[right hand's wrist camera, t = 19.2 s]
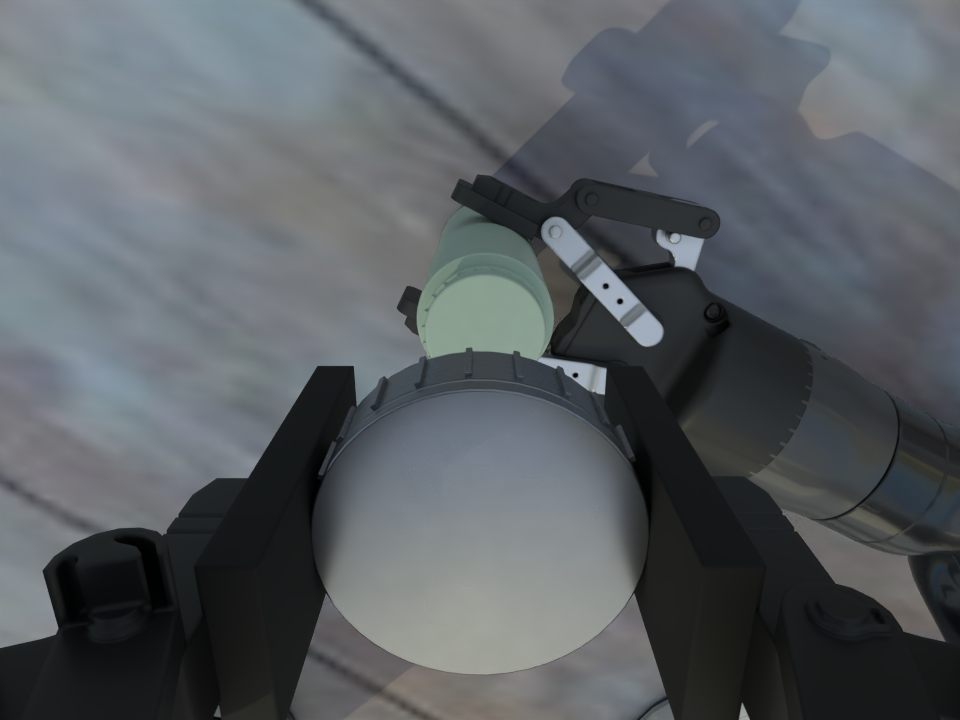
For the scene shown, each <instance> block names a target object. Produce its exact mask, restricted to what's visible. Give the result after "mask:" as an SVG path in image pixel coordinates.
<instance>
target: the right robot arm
mask: <svg viewBox="0 0 960 720" xmlns="http://www.w3.org/2000/svg"><path fill="white" fill-rule="evenodd" d="M352 406H354V407H355V408H357V405H356V391H355V377H354V366H317V368H316V370H315V371H314V373H313V374H312V376H311V378H310V379H309V381H308V383H307V384H306V386H305V387H304V389H303V391H302V392H301V394H300V395H299V397H298V399H297V400H296V402H295V403H294V405H293V407H292V408H291V410H290V412H289V413H288V415H287V416H286V418H285V420H284V421H283V423H282V424H281V426H280V428H279V429H278V431H277V433H276V434H275V436H274V437H273V439H272V441H271V442H270V444H269V445H268V447H267V449H266V450H265V452H264V453H263V455H262V457H261V458H260V460H259V462H258V463H257V465H256V466H255V468H254V470H253V471H252V473H251V474H250V476H249V478H217V479H215V480H214V481H212V482H211V483H209V484H208V485H206V486H205V487H203V488H202V489H201V490H199V491H198V492H196V493H195V494H193V495H192V496H191V498H190V499H189V501H188V502H187V503H186V505H185V506H184V507H183V509H182V510H181V511H180V513H179V517H178V518H175V520H174V521H173V522H172V524H171V525H170V526H169V528H168V529H167V534H164V535H163V536H162V535H161V534H159V533H158V532H157V531H153V530H148V529H144V528H119V529H115V530H111V531H106V532H102V533H98V534H95V535H92V536H90V537H88V538H85V539H83V540H80V541H78V542H76V543H73V544H72V545H70V546H69V547H67V548H66V549H64V550H63V551H62V552H60V553H59V554H57V555H56V556H54V557H53V559H52V560H51V561H50V562H49V563H48V565H47V566H46V567H45V568H44V569H43V574H44V578H45V581H46V585H47V588H48V592H49V596H50V599H51V603H52V606H53V610H54V613H55V617H56V621H57V624H58V628H59V629H58V631H57V634H56V635H54V636H50V637H47V638H43V639H40V640H35V641H31V642H26V643H22V644H17V645H13V646H8V647H4V648H0V720H212V719H213V717H214V714H215V712H216V710H217V707H218V705H219V709H220V714H221V720H286V718H287V715H288V712H289V709H290V706H291V702H292V699H293V696H294V693H295V690H296V686H297V683H298V680H299V677H300V674H301V671H302V667H303V664H304V661H305V658H306V655H307V652H308V648H309V645H310V642H311V639H312V636H313V633H314V629H315V626H316V623H317V620H318V617H319V613H320V610H321V607H322V604H323V601H324V598H325V594H326V591H325V590H324V588H323V586H322V583H321V581H320V578H319V576H318V574H317V571H316V568H315V564H314V560H313V552H312V543H311V533H310V519H311V511H312V506H313V502H314V498H315V494H316V491H317V489H318V486H319V484H320V481H321V480H319V479H317V475H318V472H319V470H320V468H321V466H322V463H323V461H324V459H325V456H326V454H327V452H328V450H329V447H330V445H331V443H332V441H333V442H336V443H337V440H336V439H337V437H338V434H339V432H340V430H341V427H342V425H343V423H344V420H345V418H346V416H347V413H348V411H349V409H350V408H351V407H352ZM604 409H605V410H606V412H607V413H608V414H609V416H610V417H611V418H612V420H613V422H614V424H615V426H618V425H621V426H622V428H623V431H624V433H625V435H626V437H627V440H628V442H629V444H630V447H631V449H632V451H633V453H634V456H635V458H636V461H634V462H632V464H633V466H634V468H635V471H636V473H637V475H638V478H639V480H640V483H641V486H642V488H643V491H644V493H645V496H646V500H647V505H648V511H649V516H650V537H649V547H648V556H647V561H646V564H645V568H644V571H643V575H642V577H641V579H640V581H639V583H638V586H637V588H636V590H635V592H634V593H635V596H636V599H637V603H638V606H639V609H640V612H641V615H642V619H643V622H644V625H645V628H646V631H647V634H648V638H649V641H650V644H651V647H652V650H653V653H654V657H655V660H656V663H657V666H658V669H659V672H660V676H661V679H662V682H663V685H664V688H665V691H666V695H667V698H668V701H669V704H670V707H671V711H672V714H673V717H674V720H739V717H740V711H741V706H742V703H743V705H744V708H745V710H746V712H747V715H748V717H749V719H750V720H960V645H956V644H952V643H947V642H943V641H938V640H934V639H929V638H925V637H920V636H917V635H913V634H910V633H906V632H903V630H902V628H901V626H900V625H899V623H898V622H897V620H896V619H895V618H894V616H893V615H892V613H891V612H890V611H888V610H887V609H886V608H885V607H883V606H882V605H881V604H880V603H878V602H877V601H876V600H874V599H873V598H871V597H869V596H867V595H865V594H863V593H861V592H859V591H857V590H855V589H853V588H850V587H846V586H842V585H839V584H835V582H834V581H833V580H832V578H831V577H830V576H829V574H828V573H827V571H826V570H825V569H824V567H823V566H822V565H821V563H820V562H819V561H818V559H817V558H816V557H815V555H814V554H813V553H812V551H811V550H810V549H809V547H808V546H807V544H806V543H805V542H804V540H803V539H802V538H801V536H800V535H799V534H798V532H794V527H793V526H792V524H791V523H790V522H789V520H788V519H787V517H786V516H783V515H782V511H781V509H780V508H779V507H778V505H777V504H776V503H775V501H774V500H773V499H772V497H771V496H770V495H769V493H768V492H766V491H765V490H763V489H762V488H760V487H759V486H758V485H756V484H755V483H753V482H752V481H750V480H749V479H747V478H746V477H744V476H711V475H710V474H709V472H708V470H707V469H706V467H705V466H704V464H703V462H702V461H701V459H700V458H699V456H698V454H697V453H696V451H695V450H694V448H693V446H692V445H691V443H690V441H689V440H688V438H687V437H686V435H685V433H684V432H683V430H682V429H681V427H680V425H679V424H678V422H677V421H676V419H675V417H674V416H673V414H672V412H671V411H670V409H669V408H668V406H667V404H666V403H665V401H664V400H663V398H662V396H661V395H660V393H659V391H658V390H657V388H656V387H655V385H654V383H653V382H652V380H651V379H650V377H649V375H648V374H647V372H646V371H645V369H644V367H643V366H607V369H606V383H605V397H604Z"/></svg>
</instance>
